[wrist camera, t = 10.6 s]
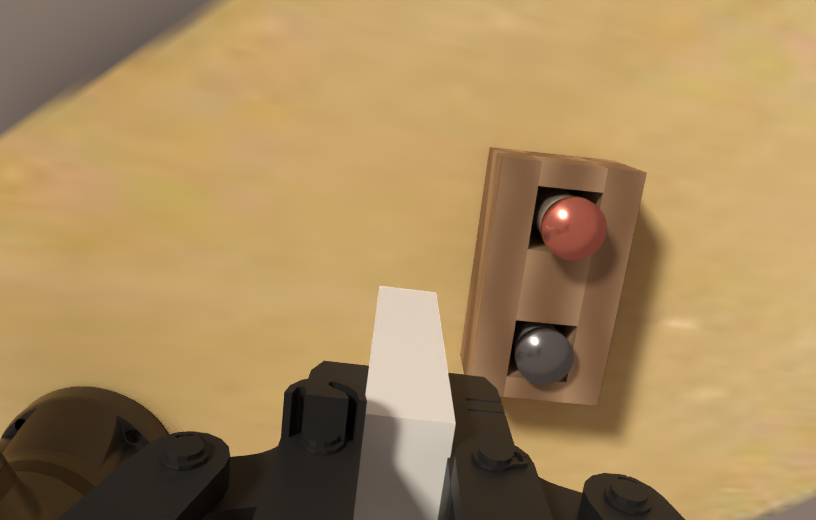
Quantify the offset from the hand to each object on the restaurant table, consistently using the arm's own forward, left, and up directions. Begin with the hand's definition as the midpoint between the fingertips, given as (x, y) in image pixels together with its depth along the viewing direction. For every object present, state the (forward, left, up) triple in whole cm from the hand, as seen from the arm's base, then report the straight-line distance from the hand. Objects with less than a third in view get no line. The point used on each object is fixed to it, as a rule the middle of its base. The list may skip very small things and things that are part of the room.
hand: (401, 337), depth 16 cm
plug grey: (+12, -11, -34) cm, 37 cm away
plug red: (+12, -2, -32) cm, 34 cm away
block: (+12, -7, -34) cm, 37 cm away
